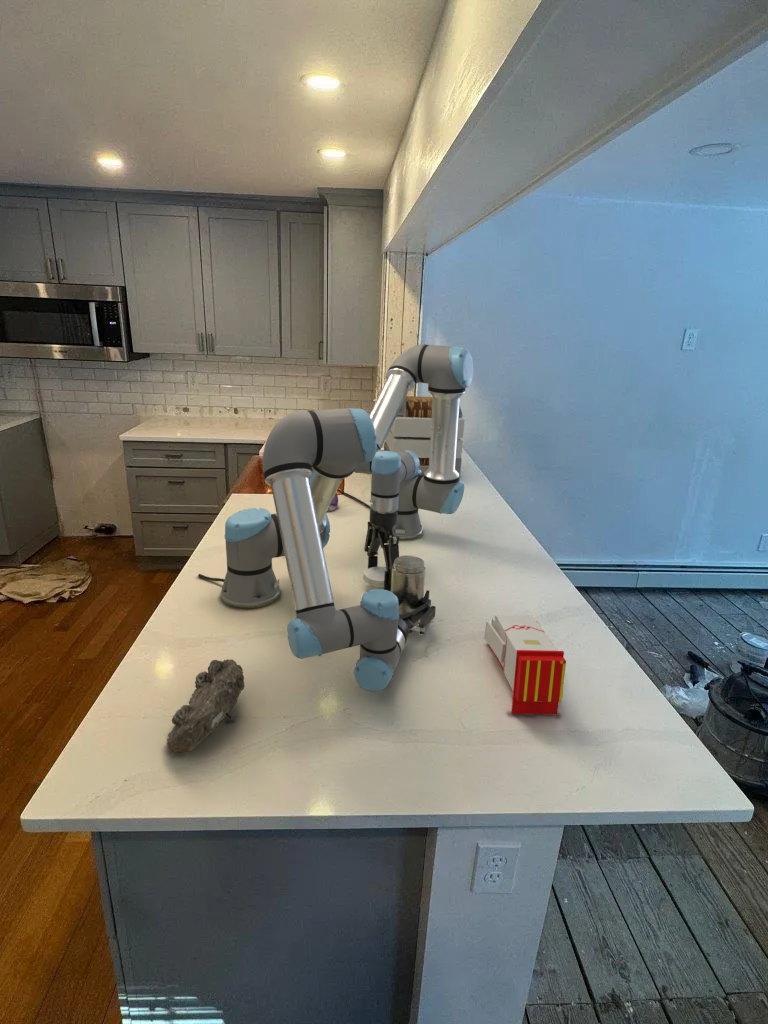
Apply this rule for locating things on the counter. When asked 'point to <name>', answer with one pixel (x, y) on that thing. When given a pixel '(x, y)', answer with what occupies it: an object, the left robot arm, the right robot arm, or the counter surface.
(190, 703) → the fossil
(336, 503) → the figurine
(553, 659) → the toy
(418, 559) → the jar
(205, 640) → the counter surface
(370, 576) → the lid
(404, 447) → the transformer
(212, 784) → the counter surface
